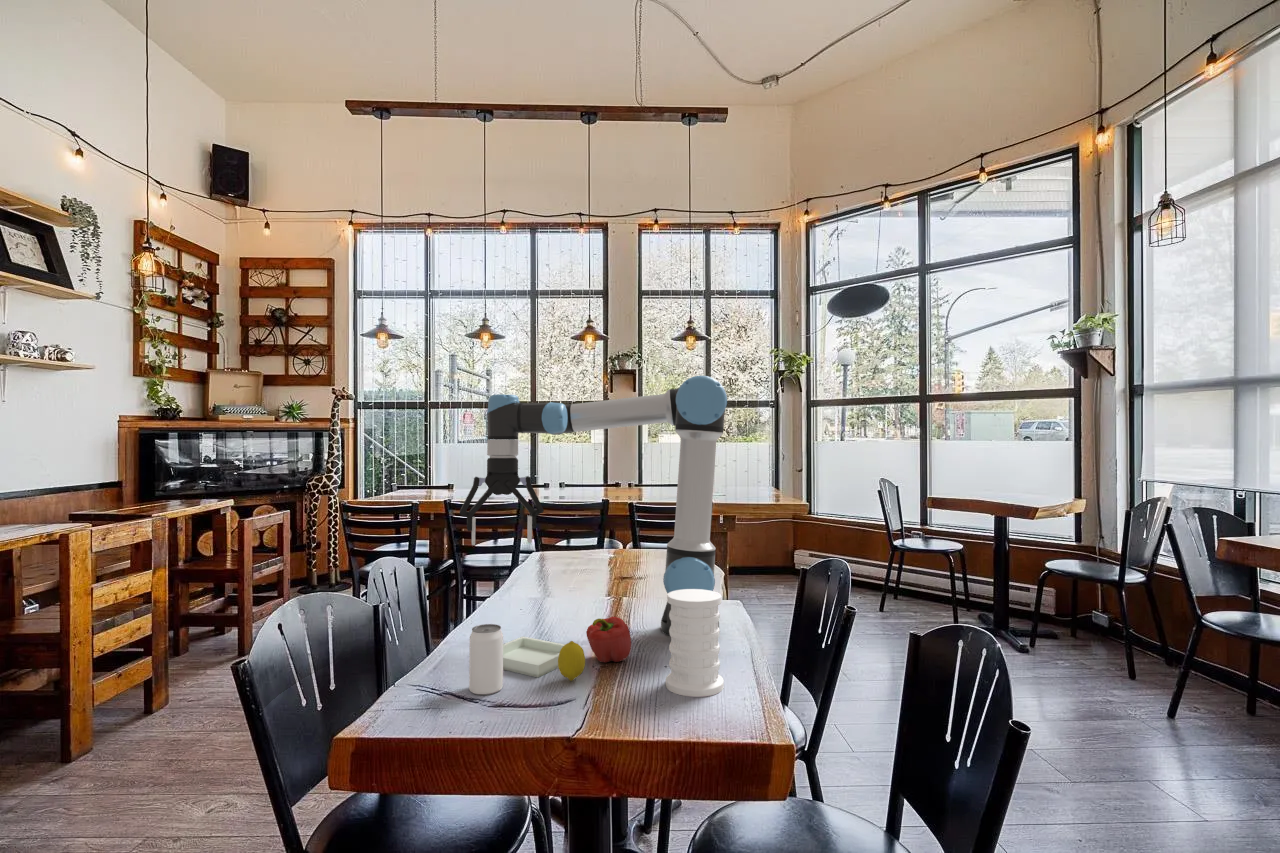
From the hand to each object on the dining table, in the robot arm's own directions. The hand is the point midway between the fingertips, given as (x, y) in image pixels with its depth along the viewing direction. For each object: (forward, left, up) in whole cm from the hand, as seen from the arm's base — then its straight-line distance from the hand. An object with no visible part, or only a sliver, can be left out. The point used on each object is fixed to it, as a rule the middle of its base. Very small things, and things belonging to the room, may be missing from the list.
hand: (501, 543), depth 156 cm
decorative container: (-53, +3, -24) cm, 59 cm away
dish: (-15, +8, -24) cm, 29 cm away
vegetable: (-30, -1, -24) cm, 39 cm away
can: (-18, +25, -24) cm, 39 cm away
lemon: (-30, +13, -24) cm, 41 cm away
